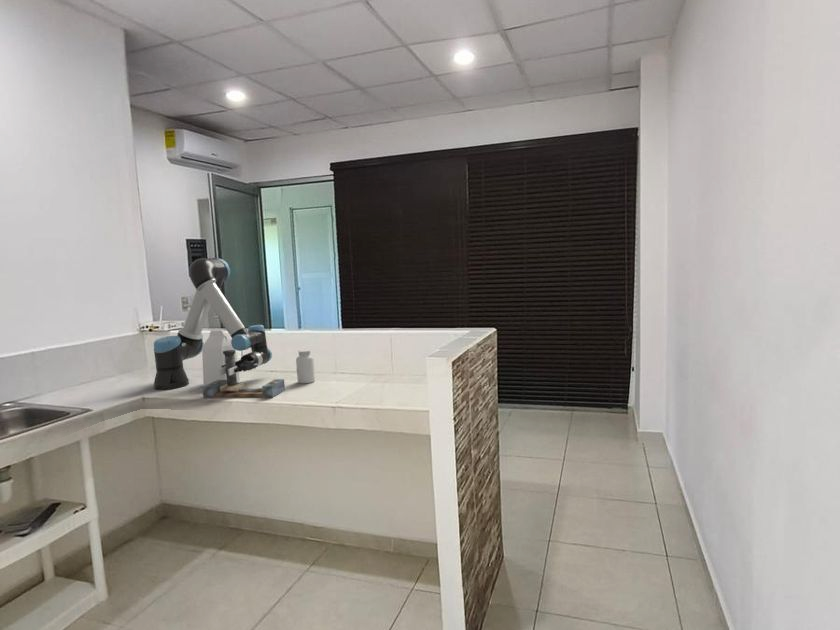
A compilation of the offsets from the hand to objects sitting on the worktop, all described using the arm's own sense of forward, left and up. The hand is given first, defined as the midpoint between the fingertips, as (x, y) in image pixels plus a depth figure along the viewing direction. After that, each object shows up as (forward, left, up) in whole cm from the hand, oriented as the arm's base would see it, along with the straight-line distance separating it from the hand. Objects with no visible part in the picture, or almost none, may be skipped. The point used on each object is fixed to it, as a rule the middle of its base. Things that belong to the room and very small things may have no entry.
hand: (224, 372), depth 216 cm
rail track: (+6, +5, -11) cm, 13 cm away
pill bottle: (+26, +26, -11) cm, 38 cm away
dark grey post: (0, +5, -9) cm, 11 cm away
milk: (-16, +24, -11) cm, 31 cm away
